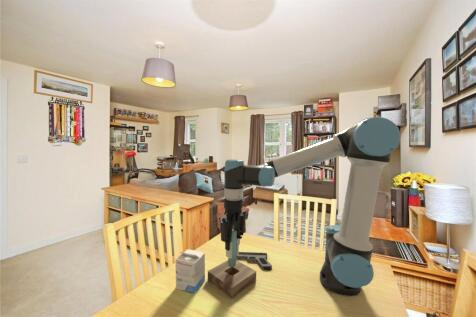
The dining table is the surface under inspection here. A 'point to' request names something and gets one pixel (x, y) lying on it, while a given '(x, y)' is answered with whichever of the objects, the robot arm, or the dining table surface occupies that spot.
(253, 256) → the handgun
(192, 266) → the ink box
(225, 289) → the socket block
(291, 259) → the dining table surface
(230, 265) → the peg
